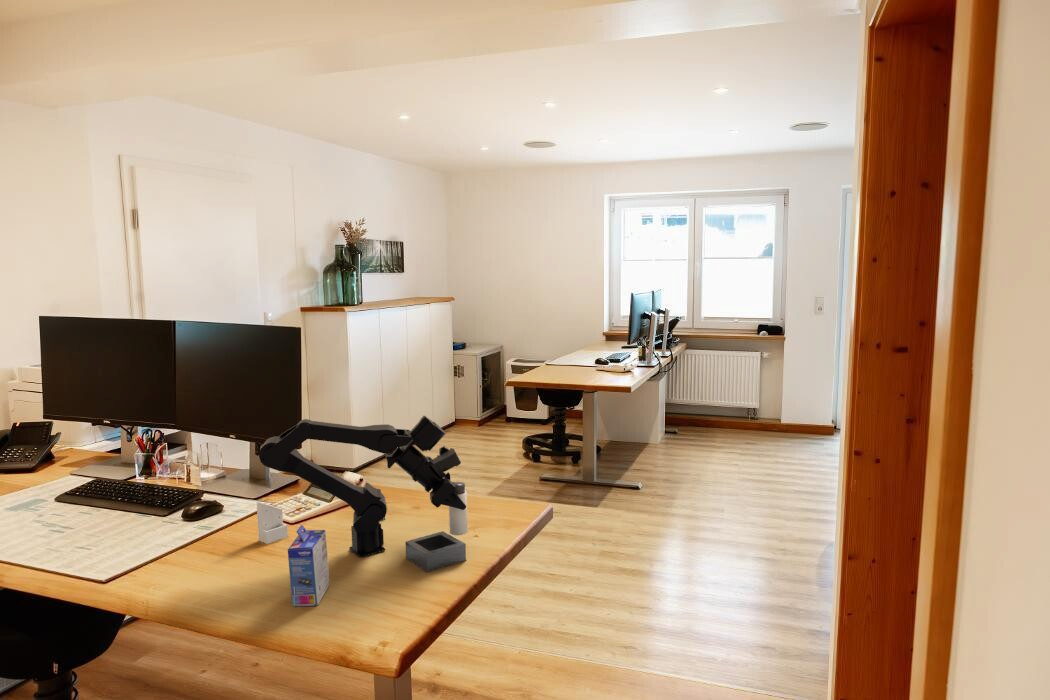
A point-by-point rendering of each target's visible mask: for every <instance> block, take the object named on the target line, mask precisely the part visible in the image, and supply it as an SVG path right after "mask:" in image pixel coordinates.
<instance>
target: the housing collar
mask: <svg viewBox="0 0 1050 700" xmlns="http://www.w3.org/2000/svg"><path fill="white" fill-rule="evenodd" d="M466 551H467V549H466V543H465V542H463V541H462V540H460V539H458V538H456V537H454V536H452V534H450V533H447V532H446V531H444V530H442V531H438V532H435V533H432V534H427V535H425V536H420V537H417V538H414V539H410V540H407V541H405V558H406V559H407V560H408V561H409V562H411V563H413V564H414V565H415V566H417V567H419V568H420V569H422V570H423V571H425V573H431V572H434V571H437V570H441V569H444V568H447V567H451V566H453V565H456V564H460V563H462V562H466V561H467V553H466Z"/></svg>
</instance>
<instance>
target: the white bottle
mask: <svg viewBox="0 0 1050 700" xmlns="http://www.w3.org/2000/svg"><path fill="white" fill-rule="evenodd" d="M453 482H454V484H455V487H456V488H455V493H456V494H457V495H458V496H459V498H460V499H461V500H462V501H463V503H464V504H465V505H466V508H465V509H464V510H461V509H458V508H454V507H450V506H448V517H449V519H448V520H449V521H448V523H449V524H448V525H449V535H451V536H452V535H453V536H462V535H466V534H467V533H469V530H468V529H469V528H468V497H467V496H468V493H467V492H468V491H467V490H466V484H465V482H463V481H462V482H461V481H456V482H455V481H453Z"/></svg>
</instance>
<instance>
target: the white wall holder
mask: <svg viewBox="0 0 1050 700" xmlns="http://www.w3.org/2000/svg"><path fill="white" fill-rule="evenodd" d="M256 516H257V533H258V542H260V541H262V542H261V543H263V542H264V543H263V544H265V545H269V544H271V543H274V542H277V541H280V540H283V539H286V538H288V537H289V535H288V534H289V532H288V529H289V528H288V524H286V523H284V518H283V517H284V515H283V509H282V508H279V507H276V506H273V505H270V504H267V503H266V504H265V503H262V502H260V501H256Z"/></svg>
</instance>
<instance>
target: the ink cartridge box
mask: <svg viewBox="0 0 1050 700" xmlns="http://www.w3.org/2000/svg"><path fill="white" fill-rule="evenodd" d="M326 532H327V531H326V530H325V529H311V530H310V529H309V530H307V529H306V528H305V527H304V525H303V524H301V525H300V526H299V527H298V528H297V530H296V534H297V537H296V538H295V539H294V540H293V542H292V543H291V544H290V546H289V547H288V548H287V557H288V558H287V559H288V560H287V561H288V571H289V579H290V580H289V581H290V582H289V583H290V592H291V601H292V606H293V607H316V606H318V605H319V604H320V602H321V600H322V599H323V596H324V595H325V593H326V591H327V589H328V587H329V586H330V573H329V572H330V571H329V562H328V561H329V557H328V547H327V546H328V545H327V534H326Z"/></svg>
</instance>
